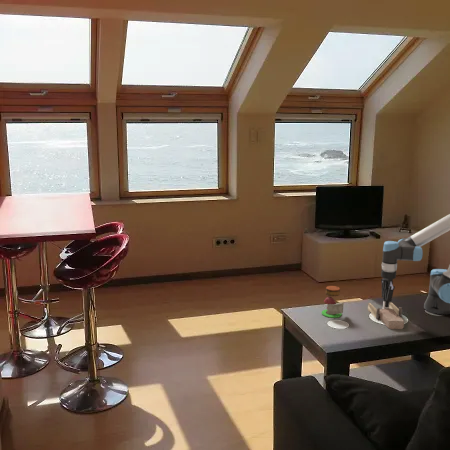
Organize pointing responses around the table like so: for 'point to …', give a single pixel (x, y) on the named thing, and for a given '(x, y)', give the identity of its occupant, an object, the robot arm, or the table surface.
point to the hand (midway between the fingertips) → (385, 311)
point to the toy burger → (332, 303)
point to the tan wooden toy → (376, 312)
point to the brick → (391, 319)
